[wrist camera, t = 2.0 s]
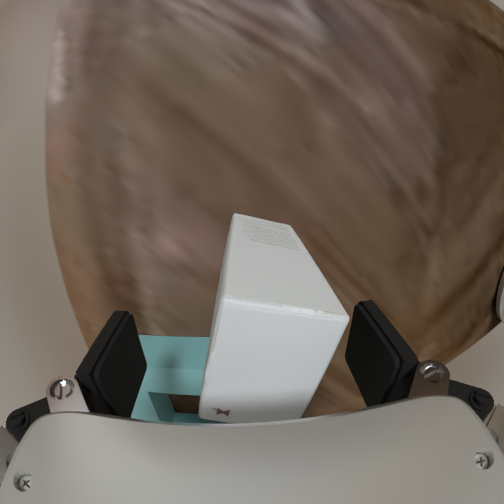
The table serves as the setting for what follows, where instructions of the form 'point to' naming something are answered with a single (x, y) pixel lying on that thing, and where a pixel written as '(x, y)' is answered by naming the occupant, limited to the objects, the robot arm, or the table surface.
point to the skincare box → (268, 327)
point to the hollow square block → (171, 377)
